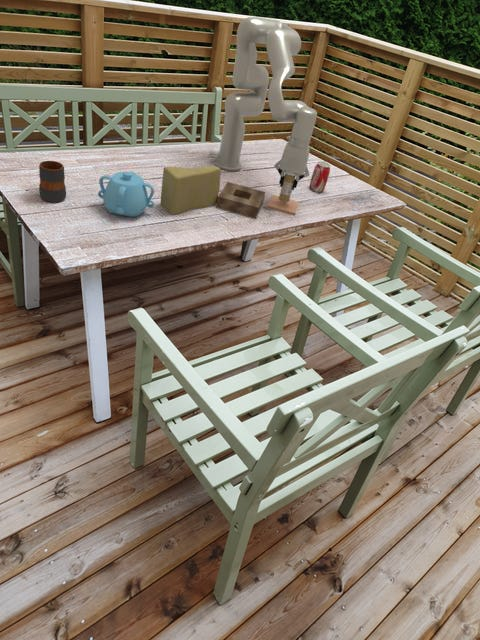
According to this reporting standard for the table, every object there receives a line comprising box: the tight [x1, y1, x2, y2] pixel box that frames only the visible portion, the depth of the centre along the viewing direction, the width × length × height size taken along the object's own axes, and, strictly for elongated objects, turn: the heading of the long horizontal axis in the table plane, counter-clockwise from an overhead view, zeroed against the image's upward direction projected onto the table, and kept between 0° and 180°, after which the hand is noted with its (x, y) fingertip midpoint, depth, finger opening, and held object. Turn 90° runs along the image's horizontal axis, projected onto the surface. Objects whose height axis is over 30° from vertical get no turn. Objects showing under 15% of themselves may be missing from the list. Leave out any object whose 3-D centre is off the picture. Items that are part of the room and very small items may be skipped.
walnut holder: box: [215, 181, 266, 219], centre depth 192 cm, size 16×16×4 cm
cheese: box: [160, 165, 222, 215], centre depth 179 cm, size 22×10×15 cm, turn 125°
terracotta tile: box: [265, 194, 300, 216], centre depth 200 cm, size 12×12×1 cm
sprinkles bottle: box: [278, 171, 296, 202], centre depth 195 cm, size 5×5×13 cm
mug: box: [38, 160, 67, 204], centre depth 166 cm, size 9×12×12 cm
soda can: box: [309, 161, 331, 193], centre depth 217 cm, size 7×7×12 cm
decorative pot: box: [97, 170, 155, 218], centre depth 168 cm, size 16×16×14 cm
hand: (287, 186), depth 195 cm, fingers closed on sprinkles bottle, 4 cm apart
